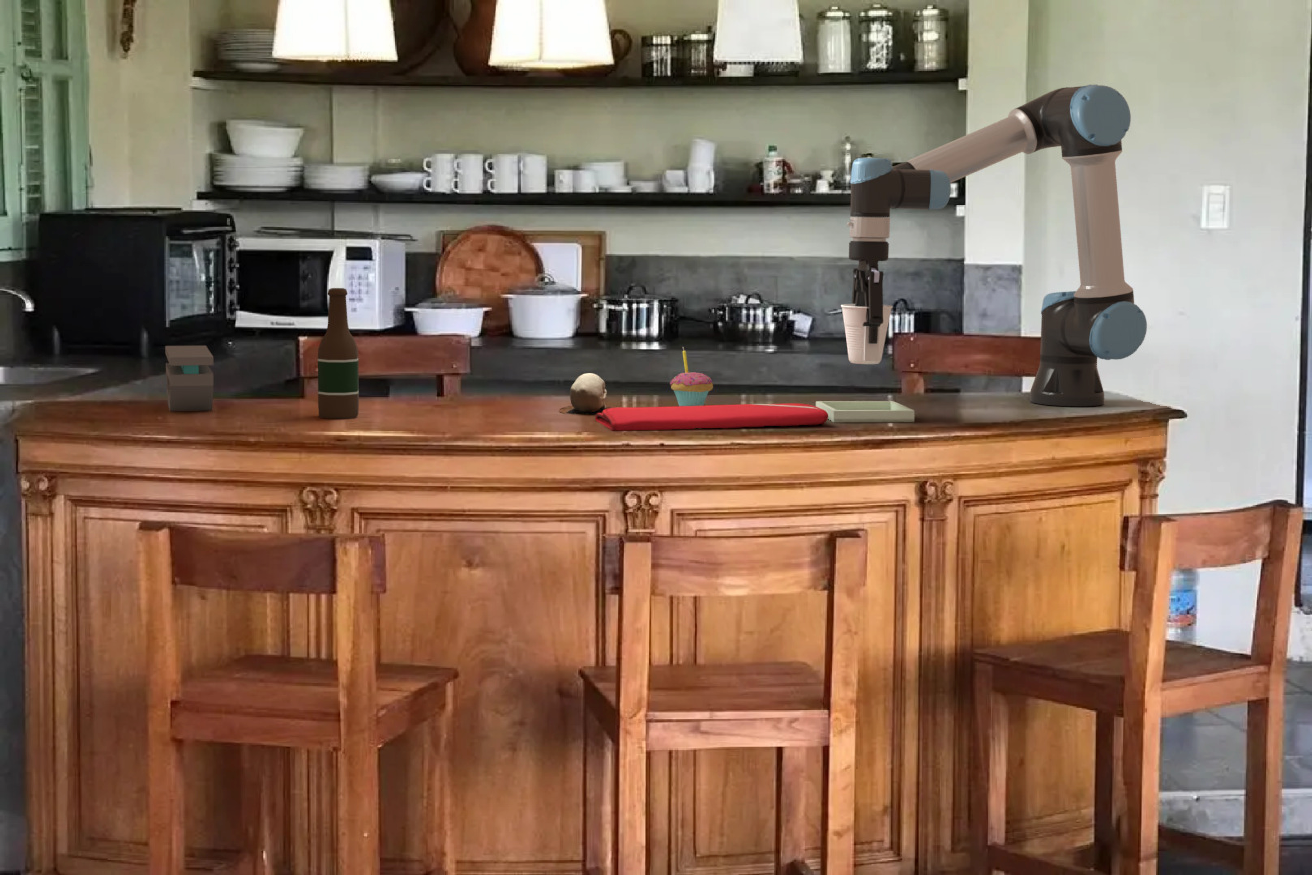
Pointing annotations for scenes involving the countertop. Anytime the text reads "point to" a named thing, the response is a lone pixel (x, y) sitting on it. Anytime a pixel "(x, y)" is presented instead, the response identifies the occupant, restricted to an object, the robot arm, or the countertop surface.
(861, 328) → the cup
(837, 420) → the tray
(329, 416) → the beer bottle
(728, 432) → the countertop surface
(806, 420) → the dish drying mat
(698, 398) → the cupcake
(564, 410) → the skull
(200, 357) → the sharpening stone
